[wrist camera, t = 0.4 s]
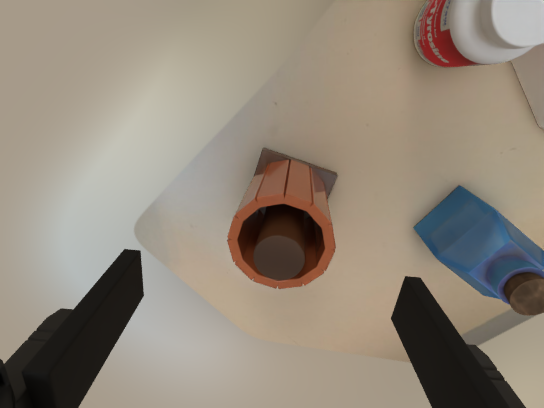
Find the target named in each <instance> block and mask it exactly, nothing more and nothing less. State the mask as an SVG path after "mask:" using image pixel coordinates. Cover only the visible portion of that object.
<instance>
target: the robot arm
mask: <svg viewBox="0 0 544 408" xmlns="http://www.w3.org/2000/svg"><path fill="white" fill-rule="evenodd" d="M143 296H144V292H143V279H142V265H141V253H140V251H139V250H128V249H124V250H123V252H122V253H121V254H120V255H119V256H118V257H117V259H116V260H115V261H114V262H113V264H112V265H111V266H110V267H109V268H108V269H107V270H106V272H105V273H104V274H103V275H102V276H101V278H100V279H99V280H98V281H97V282H96V284H95V285H94V286H93V287H92V288H91V289H90V291H89V292H88V293H87V294H86V295H85V297H84V298H83V299H82V300H81V301H80V302H79V304H78V305H77V306H76V307H75V308H74V310H72V309H60V310H58V311H57V312H55V313H53V314H52V315H50V316H49V317H48V318H46V320H44V321H43V323H42V324H41V325H40V326H39V327H38V328H37V330H36V331H34V332H33V333H32V335H31V336H30V337H29V338H28V340H27V341H25V342H24V343H23V344H22V345H21V346H20V347H19V349H18V350H17V351H16V352H15V353H14V354H13V355H12V356H11V357H10V358H9V359H8V360H7V362H6V363H5V364H4V363H3V361H2V360H1V359H0V408H78V407H79V405H80V404H81V402H82V400H83V399H84V397H85V395H86V393H87V392H88V390H89V388H90V387H91V385H92V383H93V381H94V380H95V378H96V376H97V375H98V373H99V371H100V370H101V368H102V366H103V364H104V363H105V361H106V359H107V358H108V356H109V354H110V352H111V350H112V349H113V347H114V346H115V344H116V342H117V340H118V339H119V337H120V335H121V334H122V332H123V330H124V329H125V327H126V325H127V323H128V322H129V320H130V318H131V317H132V315H133V313H134V311H135V310H136V308H137V306H138V304H139V303H140V301H141V299H142V298H143ZM391 320H392V322H393V324H394V326H395V328H396V331H397V333H398V335H399V337H400V339H401V341H402V344H403V346H404V348H405V350H406V352H407V354H408V357H409V359H410V361H411V363H412V365H413V367H414V370H415V372H416V374H417V376H418V378H419V380H420V383H421V385H422V387H423V389H424V391H425V393H426V395H427V398H428V400H429V402H430V404H431V406H432V408H526V407H525V406H524V405H523V403H522V402H521V400H520V399H519V398H518V396H517V395H516V394H515V392H514V391H513V389H512V388H511V387H510V385H509V384H508V383H507V381H505V380H504V378H503V376H502V375H501V373H500V372H499V371H497V368H496V367H495V365H494V364H493V362H492V361H491V360H490V359H489V357H488V356H487V355H486V354H485V353H483V351H481V350H480V349H479V348H478V347H477V346H476V345H468V344H466V343H465V342H464V340H463V339H462V337H461V336H460V334H459V333H458V332H457V330H456V329H455V327H454V326H453V324H452V323H451V321H450V320H449V319H448V317H447V316H446V314H445V313H444V311H443V310H442V308H441V307H440V306H439V304H438V303H437V301H436V300H435V298H434V297H433V295H432V294H431V293H430V291H429V290H428V288H427V287H426V285H425V284H424V282H423V281H422V280H421V278H418V277H408V276H405V278H404V281H403V284H402V287H401V290H400V293H399V296H398V299H397V302H396V305H395V308H394V311H393V314H392V317H391Z"/></svg>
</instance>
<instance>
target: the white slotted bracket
mask: <svg viewBox="0 0 544 408" xmlns="http://www.w3.org/2000/svg"><path fill="white" fill-rule="evenodd" d="M511 62H512V65H513V67H514V69H515V72H516V74H517V77H518V79H519V81H520V84H521V86H522V88H523V91H524V93H525V96H526V98H527V100H528V103H529V105H530V107H531V110H532V112H533V115H534V117H535V119H536V122H537V124H538V126H539V127H540V128H542V129H544V43H543V44H540V45H537V46H534V47H533V48H532V49H531V50H529V51H528V52H526V53H525V54H523V55H521V56H519V57H517V58H515V59H513V60H511Z"/></svg>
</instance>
